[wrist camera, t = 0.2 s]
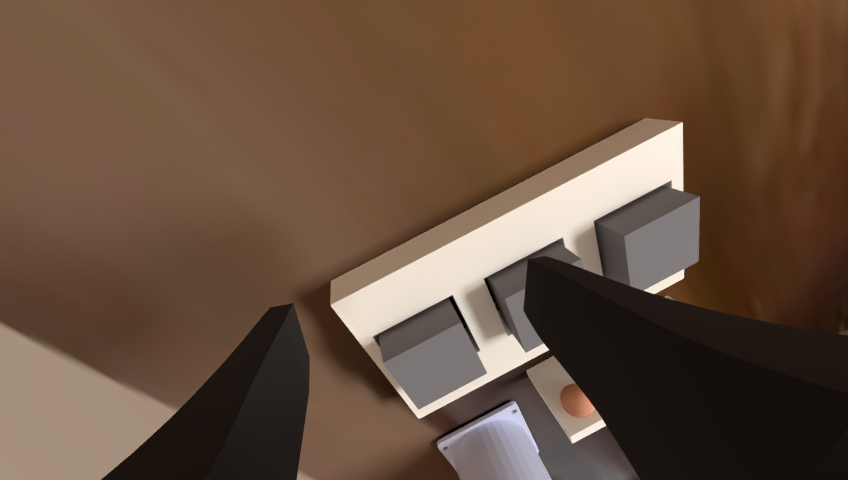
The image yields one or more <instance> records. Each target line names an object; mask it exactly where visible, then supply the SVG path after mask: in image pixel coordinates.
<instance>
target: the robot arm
mask: <svg viewBox="0 0 848 480" xmlns="http://www.w3.org/2000/svg"><path fill="white" fill-rule="evenodd" d="M523 311H524V313H525V314H526V316H527V318H528V320H529V321H530V323H531V325H532V327H533V328H534V330H535V331H536V333H537V335H538V336H539V338H540V339H541V340H542V342H543V343H544V344H545V345H546V347H547V348H548V349H549V351H550V352H551V353H552V354H553V356H554V357H555V358H556V359H557V361H558V362H559V363H560V364H561V366H562V367H563V368H564V369H565V371H566V372H567V373H568V374H569V376H570V377H571V378H572V379H573V381H574V382H575V383H576V384H577V386H578V387H579V388H580V389H581V391H582V392H583V393H584V394H585V396H586V397H587V398H588V400H589V401H590V402H591V404H592V405H593V406H594V408H595V409H596V411H597V412H598V413H599V415H600V417H601V418H602V420H603V421H604V423H605V424H606V426H607V427H608V429H609V430H610V432H611V433H612V435H613V436H614V438H615V439H616V441H617V442H618V444H619V446H620V447H621V449H622V450H623V452H624V454H625V455H626V457H627V458H628V460H629V462H630V463H631V465H632V467H633V468H634V470H635V471H636V473H637V475H638V476H639V478H640V479H641V480H848V336H846V335H840V334H834V333H827V332H821V331H815V330H808V329H802V328H796V327H790V326H785V325H779V324H774V323H768V322H763V321H759V320H754V319H749V318H744V317H740V316H735V315H730V314H726V313H721V312H717V311H713V310H709V309H705V308H701V307H698V306H694V305H690V304H686V303H683V302H679V301H675V300H672V299H668V298H665V297H662V296H659V295H655V294H652V293H649V292H646V291H643V290H640V289H637V288H634V287H631V286H628V285H626V284H623V283H620V282H617V281H614V280H612V279H609V278H606V277H604V276H601V275H598V274H596V273H593V272H590V271H588V270H585V269H582V268H580V267H577V266H574V265H572V264H569V263H566V262H563V261H560V260H557V259H554V258H551V257H547V256H542V257H537V258H531V259H528V263H527V274H526V285H525V297H524V308H523ZM309 358H310V357H309V354H308V351H307V347H306V344H305V341H304V337H303V334H302V331H301V327H300V324H299V321H298V317H297V314H296V311H295V307H294V304H293V303H292V304H287V305H282V306H277V307H271V308H270V309H269V310H268V311H267V312H266V313H265V314H264V316H263V317H262V318H261V319H260V320H259V322H258V323H257V324H256V325H255V326H254V328H253V329H252V330H251V331H250V332H249V334H248V335H247V336H246V337H245V338H244V340H243V341H242V342H241V343H240V344H239V346H238V347H237V348H236V349H235V350H234V351H233V353H232V354H231V355H230V356H229V357H228V358H227V360H226V361H225V362H224V363H223V364H222V365H221V366H220V367H219V368H218V369H217V371H216V372H215V373H214V374H213V375H212V376H211V377H210V378H209V379H208V380H207V381H206V382H205V383H204V384H203V386H202V387H201V388H200V389H199V390H198V391H197V392H196V393H195V394H194V395H193V396H192V397H191V398H190V399H189V400H188V401H187V402H186V403H185V404H184V405H183V406H182V407H181V408H180V409H179V410H178V411H177V412H176V413H175V414H174V415H173V416H172V417H171V418H170V419H169V420H168V421H167V422H166V423H165V424H164V425H163V426H162V427H161V428H160V429H158V430H157V432H155V433H154V434H153V435H152V436H151V437H150V438H149V439H148V440H147V441H146V442H144V443H143V444H142V445H141V446H140V447H139V448H138V449H137V450H136V451H135V452H134V453H132V454H131V455H130V456H129V457H128V458H126V459H125V460H124V461H123V462H122V463H120V464H119V465H118V466H117V467H116V468H114V470H112V471H111V472H110V473H109V474H107V475H106V476H105V477H104V478H103V479H102V480H296V479H297V472H298V465H299V458H300V451H301V444H302V438H303V431H304V424H305V417H306V410H307V402H308V395H309ZM437 447H438V449H439V450H440V451H441V452H442V454H443V455H444V456H445V458H446V459H447V460H448V461H449V463H450V464H451V465H452V466H453V468H454V469H455V470H456V471H457V473H458V475H459V478H460V480H552V479H551V477H550V475H549V474H548V472H547V470H546V468H545V466H544V465H543V463H542V461H541V459H540V457H539V455H538V452H539V450H538V448H537V445H536V443H535V441H534V439H533V437H532V435H531V433H530V431H529V429H528V427H527V424H526V422H525V420H524V418H523V416H522V414H521V412H520V410H519V408H518V406H517V404H516V402H514V401H511V402H509V403H507V404H505V405H503V406H501V407H499V408H497V409H495V410H494V411H492V412H490V413H488V414H486V415H484V416H482V417H480V418H479V419H477V420H475V421H473V422H471V423H469V424H467V425H465V426H464V427H462V428H460V429H458V430H456V431H454V432H452V433H450V434H449V435H447V436H445V437H443V438H441V439H439V440H438V441H437Z"/></svg>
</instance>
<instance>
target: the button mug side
mask: <svg viewBox="0 0 848 480" xmlns="http://www.w3.org/2000/svg"><path fill="white" fill-rule="evenodd" d="M699 208H700V197H699V196H696V195H693V194H690V193H686V192H683V191H680V190H676V189H673V188H670V187H667V186H663V185H662V186H660V187H658V188H656V189H654V190H652V191H650V192H648V193H646V194H644V195H642V196H641V197H639V198H637V199H635V200H633V201H631V202H629V203H627V204H625V205H623V206H621V207H619V208H618V209H616V210H614V211H612V212H610V213H608V214H606V215H604V216H602V217H600V218H598V219H597V220H595V221H594V227H595V232H596V238H597V244H598V250H599V255H600V261H601V267H602V272H603V276H604V277H606V278H609V279H612V280H614V281H617V282H620V283H623V284H626V285H628V286H631V287H634V288H637V289H640V290H643V291H644V290H645V289H647V288H649V287H651V286H653V285H655V284H657V283H659V282H660V281H662V280H664V279H666V278H668V277H670V276H672V275H674V274H676V273H677V272H679V271H681V270H683V269H685V268H687V267H689V266H691V265H693V264H694V263H696V262H698V258H699Z"/></svg>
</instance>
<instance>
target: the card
mask: <svg viewBox="0 0 848 480" xmlns="http://www.w3.org/2000/svg"><path fill="white" fill-rule="evenodd" d="M665 298H668V299H672V298H671V297H669V296H665ZM672 300H674V299H672ZM526 372H527V374H528V377H529V378H530V380H531V381H532V383H533V385H534V386H535V388H536V389H537V391H538V392H539V394H540V395H541V397H542V398H543V400H544V401H545V403H546V404H547V406H548V407H549V409H550V410H551V412H552V413H553V415H554V416H555V418H556V419H557V421H558V422H559V424H560V425H561V427H562V429H563V430H564V432H565V433H566V435H567V436H568V438H569V439H570V441H571V442H572V444H573V443H575V442H576V441H578V440H580V439H582V438H584V437H586V436H587V435H589V434H591V433H593V432H595V431H597V430H599V429H600V428H602V427H604V426H606V424H605V423H604V421H603V420H602V418H601V417H600V415H599V413H598V412H597V411H596V409H595V408H594V406H593V405H592V404H591V402H590V401H589V400H588V398H587V397H586V396H585V394H584V393H583V392H582V391H581V389H580V388H579V387H578V386H577V384H576V383H575V382H574V381H573V379H572V378H571V377H570V376H569V374H568V373H567V372H566V371H565V369H564V368H563V367H562V366H561V364H560V363H559V362H558V361H557V359H556V358H555V357H554V356H552V357H550V358H549V359H547V360H545V361H543V362H541V363H539V364H537V365H535V366H533V367H532V368H530V369H528V370H526Z"/></svg>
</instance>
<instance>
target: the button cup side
mask: <svg viewBox="0 0 848 480" xmlns="http://www.w3.org/2000/svg"><path fill="white" fill-rule="evenodd" d="M378 336H379V342H380V348H381V354H382V360H383V364H384V365H385V366H386V368H387V369H388V370H389V372H390V373H391V374H392V376H393V377H394V378H395V380H396V381H397V382H398V383H399V385H400V386H401V387H402V389H403V390H404V391H405V393H406V394H407V395H408V397H409V398H410V399H411V401H412V402H413V403H414V405H415V406H416V407H417V408H418V410H419V409H421V408H423V407H425V406H427V405H429V404H431V403H432V402H434V401H436V400H438V399H440V398H442V397H444V396H446V395H447V394H449V393H451V392H453V391H455V390H457V389H459V388H461V387H463V386H464V385H466V384H468V383H470V382H472V381H474V380H476V379H478V378H480V377H481V376H483V375H485V374H487V371H486V369H485V368H484V366H483V364H482V362H481V360H480V358H479V356H478V354H477V352H476V350H475V348H474V346H473V344H472V342H471V340H470V338H469V336H468V334H467V332H466V331H465V329H464V327H463V325H462V323H461V321H460V319H459V317H458V315H457V313H456V311H455V309H454V308H453V306H452V304H451V302H450V300H449V298H446V299H444V300H442V301H440V302H438V303H436V304H434V305H432V306H430V307H428V308H427V309H425V310H423V311H421V312H419V313H417V314H415V315H413V316H411V317H409V318H407V319H406V320H404V321H402V322H400V323H398V324H396V325H394V326H392V327H390V328H388V329H386V330H385V331H383V332H381V333H379V334H378Z"/></svg>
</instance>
